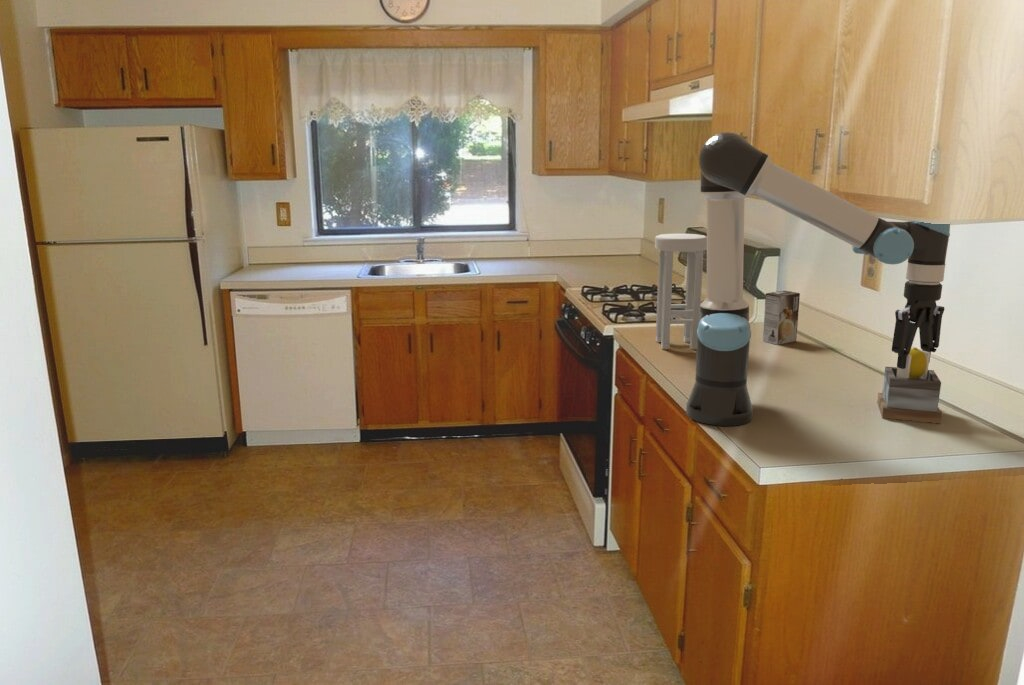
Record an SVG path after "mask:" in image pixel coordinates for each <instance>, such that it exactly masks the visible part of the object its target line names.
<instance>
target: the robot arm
mask: <svg viewBox="0 0 1024 685" xmlns="http://www.w3.org/2000/svg"><path fill="white" fill-rule="evenodd" d="M698 165H699V169H700V194H701V195H702V196H703V197H704V198H705V199H706V237H707V250H706V298H704V300H703V301H701V304H700V322H699V325H698V329H697V336H698V339H697V349H696V363H695V381H694V384H693V386H692V390H691V391H690V394H689V397H688V399H687V402H686V410H685V413H686V416H687V417H688V418H689V419H691V420H694V421H695V422H697V423H702V424H705V425H711V426H720V427H721V426H722V427H724V426H725V427H734V426H740V425H745V424H748V423H750V422H751V421H752V420H753V413H754V412H753V411H754V410H753V405H752V402H751V397H750V394H749V390H748V384H747V382H748V370H749V359H750V358H749V356H750V344H751V342H750V341H751V337H752V330H751V323H750V303H749V302H748V301H747V300H746V299H745V298H744V255H745V254H744V253H745V252H744V251H745V250H744V244H745V198H746V197H747V196H752V195H754V196H756V197H757V198H759V199H761V200H762V201H766V202H767V203H769V204H771V205H773V206H775V207H777V208H779V209H782V210H783V211H785V212H787V213H789V214H790V215H792V216H795V217H797V219H798V218H799V219H800V220H802V221H805V222H807V223H808V224H810V225H812V226H813V227H816V228H818V229H819V230H821V231H824V232H826V233H827V234H829V235H832V236H833V237H835V238H837V239H839V240H841V241H843V242H845V243H847V244H850V245H851V248H852V249H851V250H852V251H853V253H855V254H856V255H857V254H858V255H864V256H867V255H869V256H871V257H874V258H876V259H877V261H879V262H880V263H881V262H882V263H883V264H886V265H898V264H901V263H904V262H905V261H907V268H906V275H905V279H906V280H907V281H906V282H905V283H904V290H903V297H904V298H905V299H906V303H905V306H904V308H903V309H901V310H900V309H896V310H895V312H894V314H895V325H894V331H893V338H892V342H891V343H892V344H891V352H893V353H895V354H897V362H896V367H897V375H896V378H908V379H909V373H910V365H911V357H912V355H909V353H910V350H911V349H912V348H913V347H912V346H913V343H914V341H915V340H914V339H915V337H916V334H917V331H919V344H920V346H919V347H920V349H919V350H920V351H922V352H923V353H924V354H925V356H926V360H927V367H926V370H925V372H924V374H923V375H922V376H921V377H919V378H921V379H924V380H925V379H927V373H928V370H929V365H930V361H931V355H932V353H935V352H937V349H938V348H939V346H940V339H941V330H942V329H941V328H942V321H943V320H942V319H943V315H944V311H945V306H941V305H938V304H937V301H940V300H941V298H942V291H943V284H942V282H944V278H945V268H946V259H947V252H948V247H949V246H948V245H949V240H950V239H949V238H950V236H951V230H950V229H951V223H950V224H931V223H924V222H918V221H912V220H911V221H909V220H908V221H887V220H885V219H883V218H880V217H879V216H878V215H875V214H873V213H871V212H869V211H867V210H865V209H863V208H862V207H859V206H857V205H856V204H854V203H852V202H850V201H848V200H846V199H844V198H842V197H841V196H837V195H836V194H834V193H833V192H830V191H828V190H826V189H824V188H823V187H821V186H819V185H817V184H815V183H813V182H810V181H809V180H807V179H805V178H803V177H801V176H799V175H797V174H795V173H793V172H791V171H789V170H787V169H785V168H783V167H781V166H780V165H777V164H775V163H773V162H772V160H771V157H770V155H769V154H767V153H764V152H763V151H761V150H760V149H758V148H756V147H755V146H753V145H752V144H751V143H750V142H748V140H747V139H746V138H745V137H744V136H742V135H740V134H738V133H734V132H730V131H727V132H726V131H725V132H718V133H717V134H714V135H712V136H711V137H709V138H708V139H707V140H706V141H705V142H704V144H703V145H702V146H701V148H700V151H699V154H698ZM918 329H919V330H918Z"/></svg>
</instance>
